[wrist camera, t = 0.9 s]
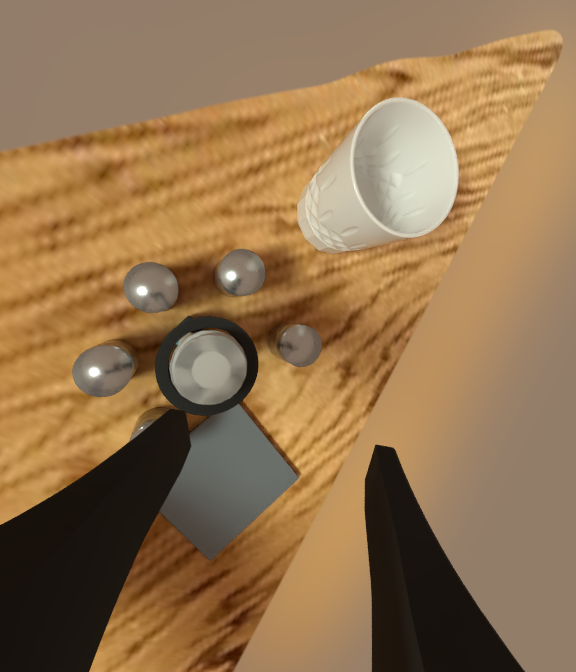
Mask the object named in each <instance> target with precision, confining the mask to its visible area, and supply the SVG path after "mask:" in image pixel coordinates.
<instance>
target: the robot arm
mask: <svg viewBox="0 0 576 672" xmlns="http://www.w3.org/2000/svg"><path fill="white" fill-rule="evenodd" d="M190 449H191V441H190V435H189V429H188V424H187V418H186V412H185V411H182V410H176V409H169V410H168V411H167V412H165V413H164V414H163V415H162V416H161V417H159V418H158V419H157V420H156V421H154V422H153V423H152V424H151V425H150V426H148V427H147V428H146V429H145V430H144V431H142V432H141V433H140V434H139V435H137V436H136V437H135V438H134V439H132V440H131V441H130V442H129V443H127V444H126V445H125V446H123V447H122V448H121V449H120V450H118V451H117V452H116V453H114V454H113V455H112V456H110V457H109V458H108V459H106V460H105V461H104V462H102V463H101V464H99V465H98V466H97V467H95V468H94V469H93V470H91V471H90V472H88V473H87V474H85V475H84V476H82V477H81V478H80V479H78V480H77V481H75V482H74V483H72V484H70V485H69V486H67V487H66V488H64V489H63V490H61V491H59V492H58V493H56V494H55V495H53V496H51V497H50V498H48V499H46V500H45V501H43V502H41V503H39V504H38V505H36V506H34V507H32V508H31V509H29V510H27V511H25V512H24V513H22V514H20V515H19V516H17V517H15V518H13V519H11V520H9V521H7V522H5V523H4V524H2V525H0V672H89V671H90V668H91V665H92V663H93V660H94V657H95V655H96V652H97V649H98V647H99V644H100V641H101V639H102V636H103V634H104V631H105V629H106V626H107V624H108V621H109V619H110V616H111V614H112V611H113V609H114V606H115V604H116V602H117V599H118V597H119V594H120V592H121V590H122V587H123V585H124V583H125V580H126V578H127V576H128V573H129V571H130V569H131V567H132V564H133V562H134V560H135V558H136V556H137V553H138V551H139V549H140V547H141V544H142V542H143V540H144V538H145V537H146V535H147V533H148V531H149V529H150V527H151V525H152V523H153V522H154V520H155V518H156V516H157V514H158V513H159V511H160V509H161V507H162V505H163V504H164V502H165V500H166V498H167V497H168V495H169V493H170V491H171V489H172V487H173V486H174V484H175V482H176V480H177V478H178V476H179V475H180V473H181V471H182V468H183V466H184V464H185V461H186V459H187V456H188V454H189V451H190ZM365 520H366V532H367V542H368V554H369V566H370V577H371V592H372V672H525V671H524V670H523V669H522V667H521V666H520V665H519V663H518V662H517V661H516V659H515V658H514V656H513V655H512V654H511V652H510V651H509V650H508V648H507V647H506V645H505V644H504V642H503V641H502V640H501V638H500V637H499V635H498V634H497V633H496V631H495V630H494V628H493V627H492V625H491V624H490V623H489V621H488V620H487V618H486V617H485V616H484V614H483V613H482V611H481V610H480V608H479V607H478V605H477V604H476V602H475V601H474V599H473V598H472V596H471V595H470V593H469V592H468V590H467V589H466V587H465V585H464V584H463V582H462V581H461V579H460V577H459V576H458V574H457V573H456V571H455V569H454V568H453V566H452V565H451V563H450V561H449V560H448V558H447V556H446V554H445V553H444V551H443V549H442V548H441V546H440V544H439V542H438V540H437V538H436V537H435V535H434V533H433V531H432V529H431V527H430V526H429V524H428V522H427V520H426V518H425V516H424V514H423V512H422V510H421V508H420V506H419V504H418V502H417V500H416V498H415V496H414V493H413V491H412V489H411V487H410V485H409V482H408V480H407V478H406V476H405V473H404V471H403V469H402V466H401V464H400V461H399V458H398V456H397V453H396V451H395V449H394V448H391V447H387V446H381V445H375V448H374V452H373V455H372V458H371V461H370V465H369V468H368V472H367V475H366V478H365Z"/></svg>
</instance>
